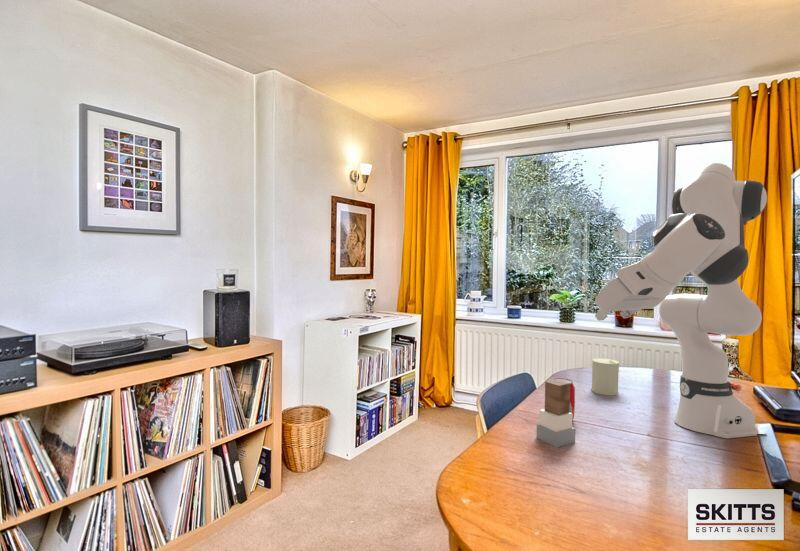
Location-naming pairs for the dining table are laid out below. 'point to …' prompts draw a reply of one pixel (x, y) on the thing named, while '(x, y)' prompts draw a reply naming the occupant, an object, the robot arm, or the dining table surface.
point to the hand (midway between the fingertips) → (611, 317)
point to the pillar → (557, 397)
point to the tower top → (555, 420)
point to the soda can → (572, 395)
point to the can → (605, 376)
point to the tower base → (556, 436)
